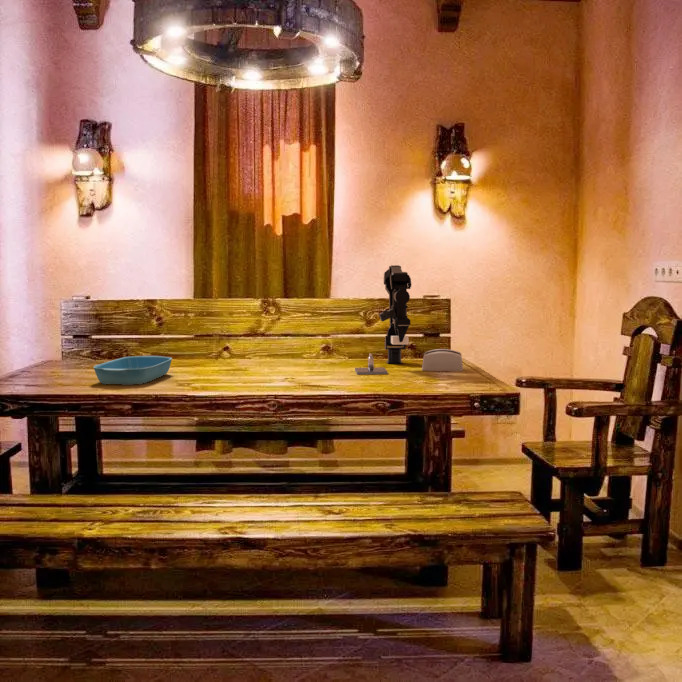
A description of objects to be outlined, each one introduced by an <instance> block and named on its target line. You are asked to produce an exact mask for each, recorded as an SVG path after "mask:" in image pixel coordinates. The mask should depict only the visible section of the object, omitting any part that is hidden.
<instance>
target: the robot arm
mask: <svg viewBox="0 0 682 682" xmlns="http://www.w3.org/2000/svg"><path fill="white" fill-rule="evenodd" d="M383 285H384V289H385V291H386V293H387V294H388V302H389V303H388V304H389V309H385V310H383V311H382V312H380V313H378V316H379V319H380V321H381V322H385V321H386V320H389V328H388V329H387V332H386V335H384V350H387V360H386V363H387V364H388V365H389V364H391V365H392V364H394V365H395V364H397V365H398V364H399V365H401V364H404V362H403V361H402V350H406V349H407V348H406V347H407V346H406V345H407V344H405V345H393V344H392V343H391V336H399V342H402V341H403V339H404V336H406V333H407V331H408V330H409V327H410V326H411V319H410V318H409V317H408V315H407V314H408V313H407V312H408V311H407V309H408V308H409V307H408V302H409V301H410V300H411V299H410V298H411V295H410V293H409V291H408V290H410V289H411V288H412V279H411V276H410V274H408V272H407V271H403V270H402V266H401V265H396V264H395V265H390V266H389V267H388V268H387V270H386V271H384V273H383Z"/></svg>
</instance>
